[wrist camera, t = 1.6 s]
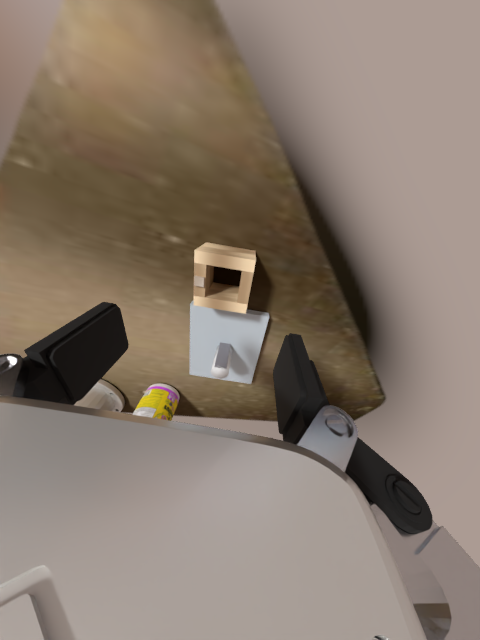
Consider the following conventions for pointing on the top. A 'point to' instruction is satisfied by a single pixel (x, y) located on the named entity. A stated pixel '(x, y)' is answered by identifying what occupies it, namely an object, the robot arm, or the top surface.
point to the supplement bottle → (158, 402)
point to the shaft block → (225, 342)
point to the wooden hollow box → (219, 293)
